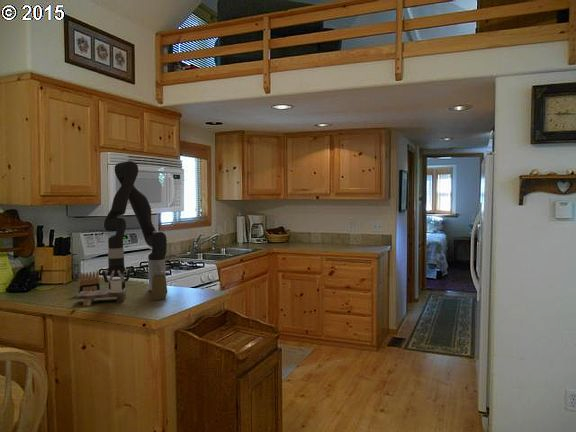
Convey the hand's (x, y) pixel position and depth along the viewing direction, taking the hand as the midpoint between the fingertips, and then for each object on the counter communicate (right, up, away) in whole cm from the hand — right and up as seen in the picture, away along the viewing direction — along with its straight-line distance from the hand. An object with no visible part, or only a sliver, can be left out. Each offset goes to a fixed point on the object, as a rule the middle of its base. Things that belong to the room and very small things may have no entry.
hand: (117, 289), depth 223 cm
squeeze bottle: (+21, -5, +2) cm, 22 cm away
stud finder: (0, -1, 0) cm, 1 cm away
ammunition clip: (-22, -5, +17) cm, 28 cm away
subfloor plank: (-7, -6, -2) cm, 9 cm away
